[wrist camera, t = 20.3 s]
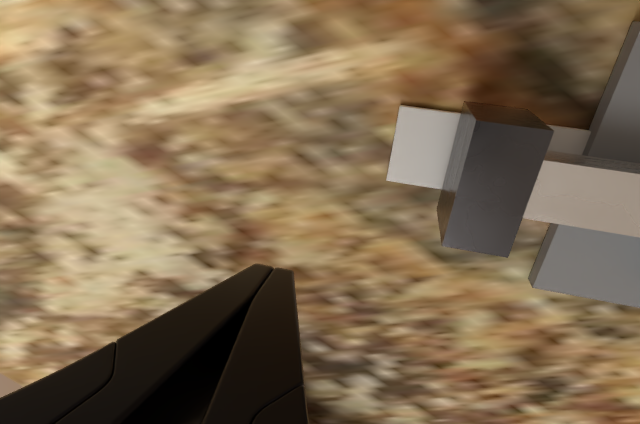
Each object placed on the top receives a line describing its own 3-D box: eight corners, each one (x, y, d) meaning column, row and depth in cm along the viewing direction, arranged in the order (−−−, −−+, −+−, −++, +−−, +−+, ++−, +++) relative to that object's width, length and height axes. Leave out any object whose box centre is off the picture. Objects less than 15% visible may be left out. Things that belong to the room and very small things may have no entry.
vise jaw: (846, 90, 14) (967, 111, 11) (709, 295, 18) (768, 351, 15) (477, 49, 16) (493, 57, 13) (427, 245, 20) (431, 286, 17)
